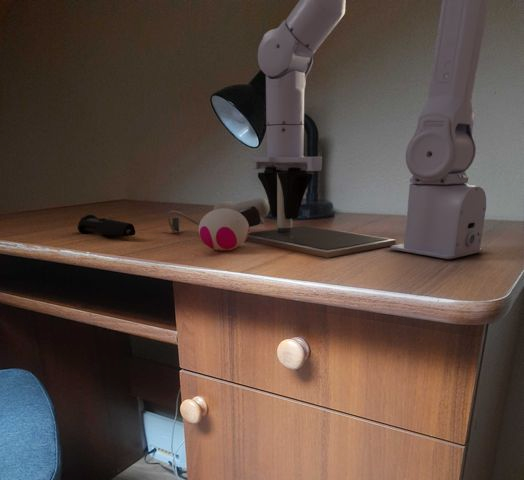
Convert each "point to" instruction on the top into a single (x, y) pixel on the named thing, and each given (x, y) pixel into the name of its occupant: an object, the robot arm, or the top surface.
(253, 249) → the top surface
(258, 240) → the tablet
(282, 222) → the beige cylinder
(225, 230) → the stress ball
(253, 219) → the white corded device
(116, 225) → the electric trimmer
